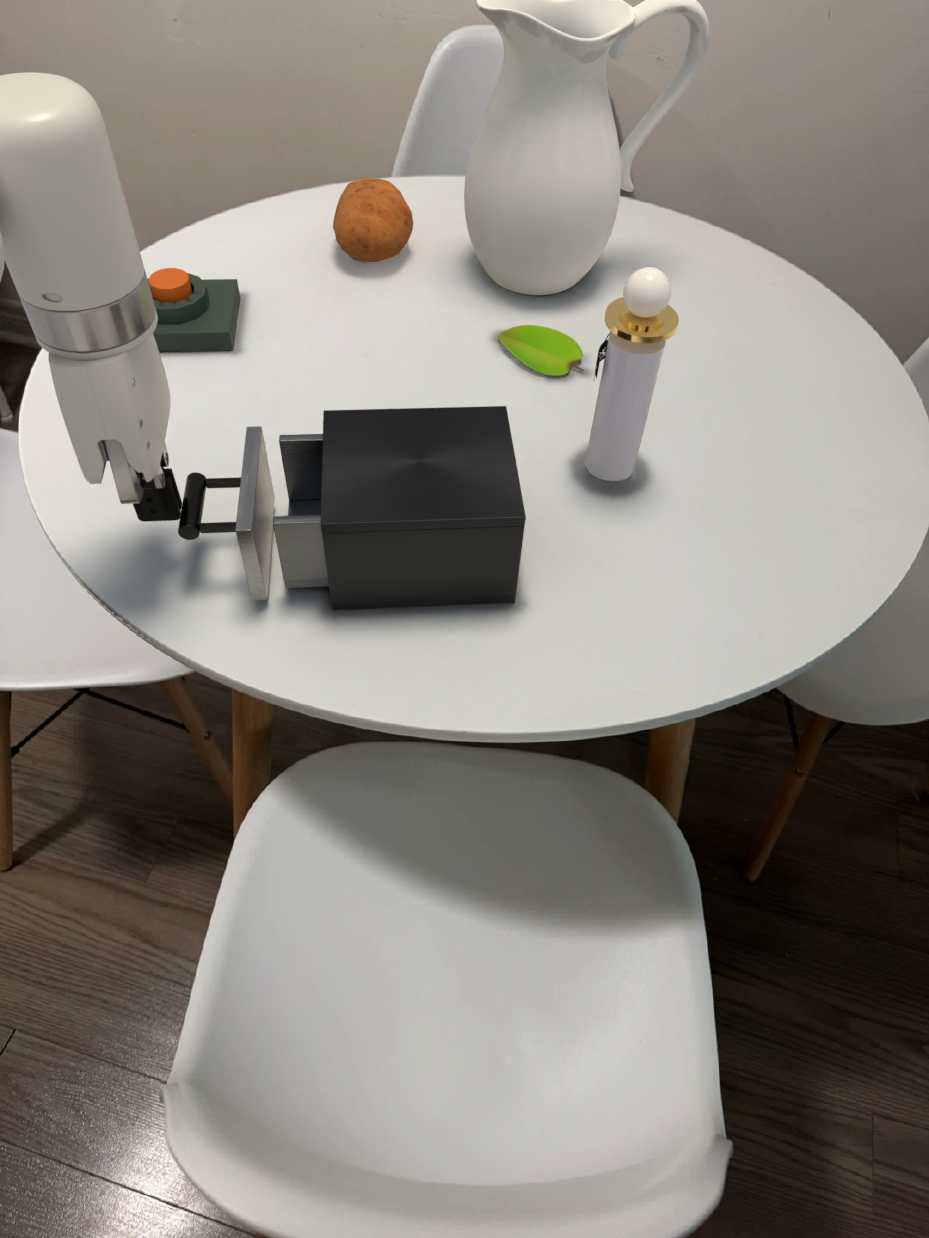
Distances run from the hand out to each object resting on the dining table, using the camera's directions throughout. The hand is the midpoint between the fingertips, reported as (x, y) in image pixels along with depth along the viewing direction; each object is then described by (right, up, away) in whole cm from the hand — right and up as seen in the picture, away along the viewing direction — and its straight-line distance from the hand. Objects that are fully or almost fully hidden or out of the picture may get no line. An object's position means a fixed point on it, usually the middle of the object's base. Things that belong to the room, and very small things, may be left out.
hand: (161, 513), depth 69 cm
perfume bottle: (+37, +5, +13) cm, 40 cm away
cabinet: (+20, -2, +6) cm, 21 cm away
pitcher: (+35, +33, +34) cm, 59 cm away
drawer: (+11, -2, +4) cm, 12 cm away
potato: (+13, +35, +35) cm, 51 cm away
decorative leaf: (+32, +19, +23) cm, 44 cm away
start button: (-6, +25, +22) cm, 34 cm away
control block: (-7, +23, +25) cm, 34 cm away
